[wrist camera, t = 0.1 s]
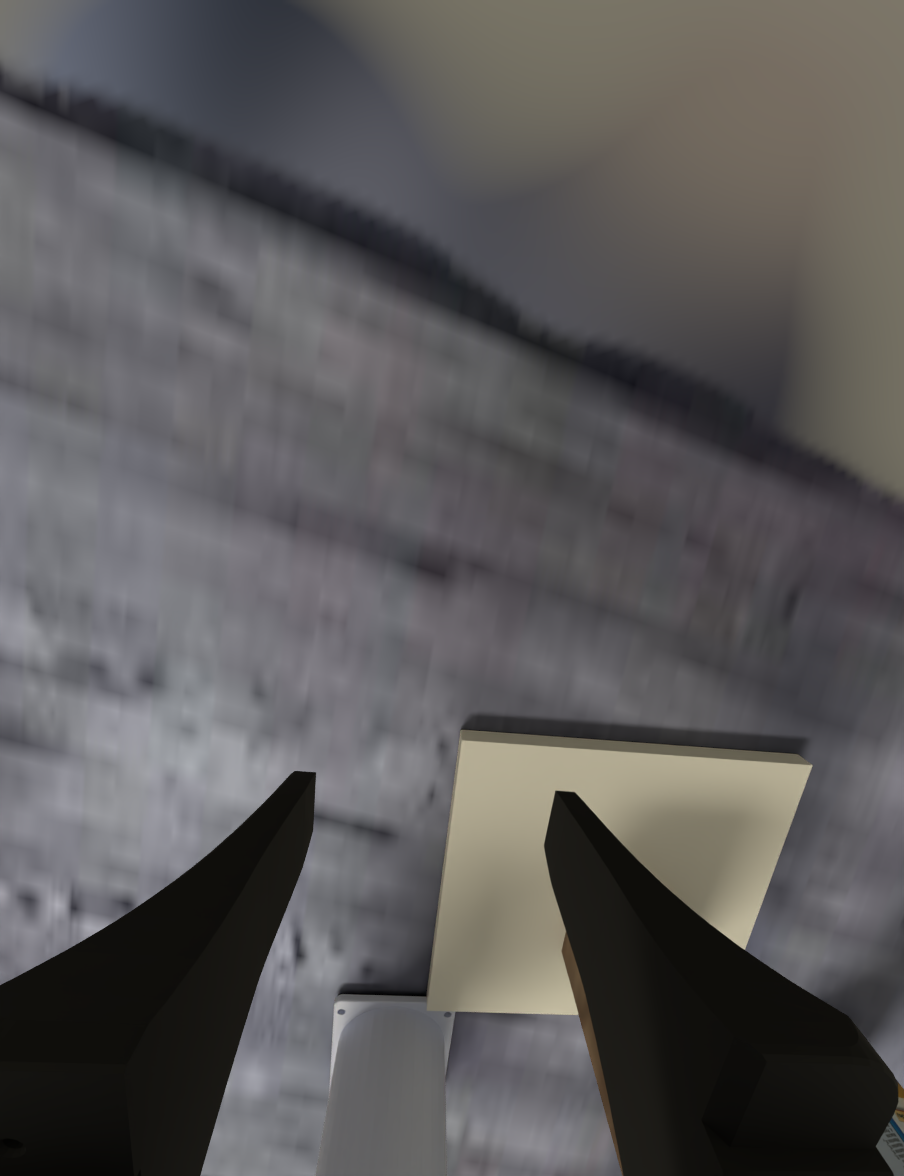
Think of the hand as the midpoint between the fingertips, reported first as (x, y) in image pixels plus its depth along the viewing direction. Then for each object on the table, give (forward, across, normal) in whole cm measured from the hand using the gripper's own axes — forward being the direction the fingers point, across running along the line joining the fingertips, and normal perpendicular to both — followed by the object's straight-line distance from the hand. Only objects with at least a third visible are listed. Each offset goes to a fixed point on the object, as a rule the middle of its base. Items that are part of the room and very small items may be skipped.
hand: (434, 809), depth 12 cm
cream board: (+10, -12, +14) cm, 21 cm away
